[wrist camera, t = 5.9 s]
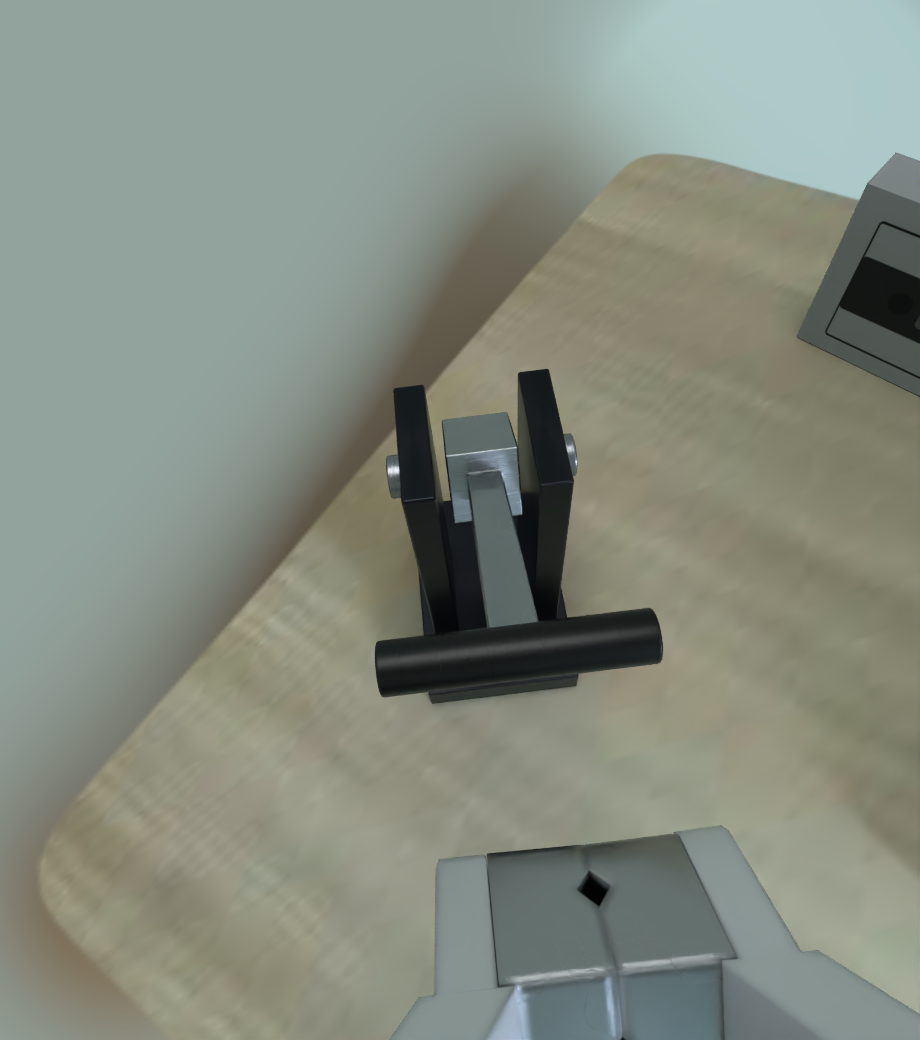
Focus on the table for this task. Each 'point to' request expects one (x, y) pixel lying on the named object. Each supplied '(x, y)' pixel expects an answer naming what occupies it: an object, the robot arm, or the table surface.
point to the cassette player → (876, 281)
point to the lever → (506, 590)
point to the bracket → (451, 546)
